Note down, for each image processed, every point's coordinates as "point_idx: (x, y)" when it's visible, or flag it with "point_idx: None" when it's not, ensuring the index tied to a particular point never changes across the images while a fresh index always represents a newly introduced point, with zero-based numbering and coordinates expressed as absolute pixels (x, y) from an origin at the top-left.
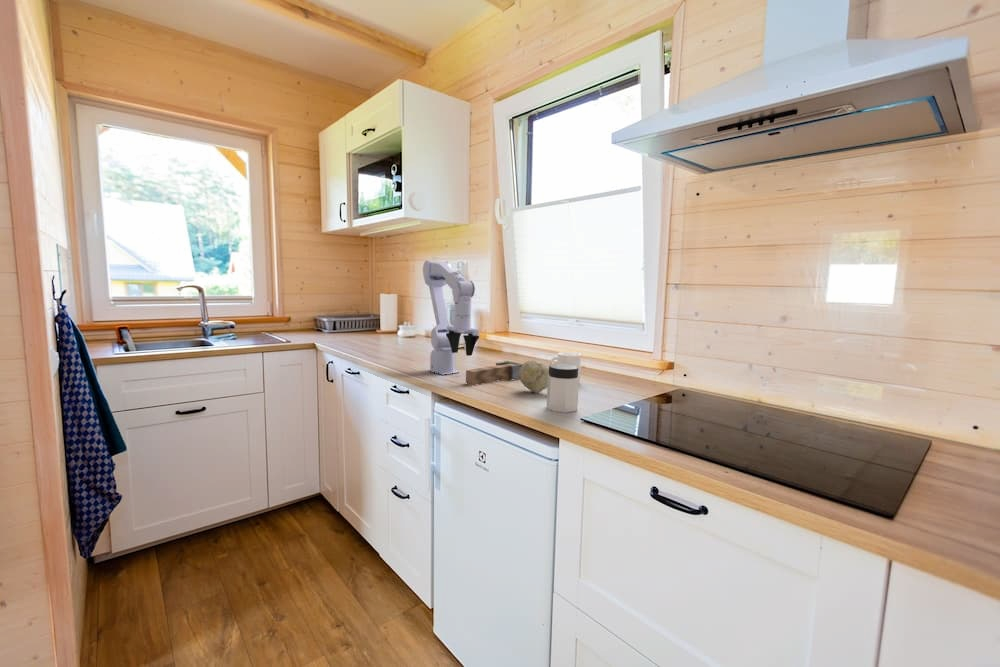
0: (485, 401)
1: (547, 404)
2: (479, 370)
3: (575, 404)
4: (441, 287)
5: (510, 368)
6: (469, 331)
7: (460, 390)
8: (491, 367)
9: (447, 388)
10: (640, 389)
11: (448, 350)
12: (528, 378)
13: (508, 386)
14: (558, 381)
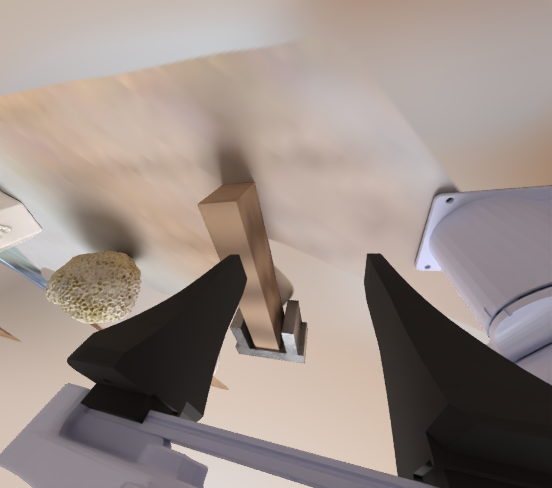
0: (28, 94)
1: (4, 199)
2: (217, 239)
3: None
4: None
5: (240, 321)
6: (55, 444)
7: (168, 100)
8: (249, 293)
9: (211, 60)
10: None
11: (510, 305)
12: (73, 258)
13: (188, 254)
14: None
